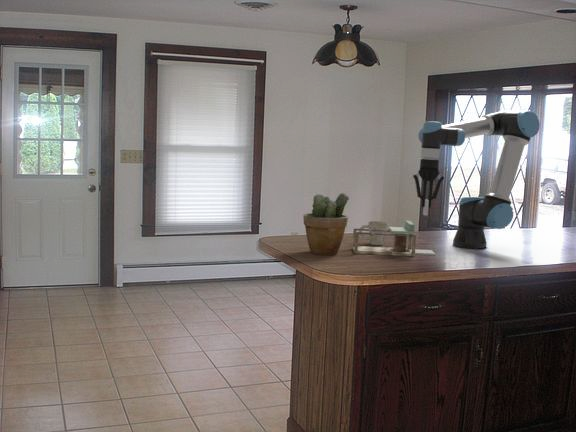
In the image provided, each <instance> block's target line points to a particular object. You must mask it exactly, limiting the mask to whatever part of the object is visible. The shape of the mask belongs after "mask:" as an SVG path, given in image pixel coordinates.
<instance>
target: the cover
mask: <svg viewBox="0 0 576 432" xmlns="http://www.w3.org/2000/svg"><path fill="white" fill-rule="evenodd" d="M404 221H405V222H404V227H403V226H401V227H400V226H399V227H398V226H388V230H390V231H391V232H390V233H391V234H408V235H409V234H412V235H415V227H416V226H415V223H413V222H412V221H411V220H404Z"/></svg>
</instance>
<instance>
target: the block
mask: <svg viewBox="0 0 576 432" xmlns="http://www.w3.org/2000/svg"><path fill="white" fill-rule="evenodd" d="M393 238H394V239H393V240H394V242H393V248H394V251H393V252H406V248H407V243H408V241H407V240H408V239H407V238H408V236H393Z"/></svg>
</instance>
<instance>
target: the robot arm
mask: <svg viewBox="0 0 576 432" xmlns="http://www.w3.org/2000/svg"><path fill="white" fill-rule="evenodd" d="M540 124H541V123H540V119H539V118H538V115H537V114H536V112H534V111H532V110H529V109H528V110H527V109H521V110H520V109H518V110H517V109H516V110H512V109H510V110H507V109H506V110H501V111H498V112H492V113H489V114H485V115H482V116H481V117H480V118H475V119H470V120H468V119H467V120H464V121H459V122H453V123H449V124H443V123H442V122H441V121H427V120H426V121H425V122H423V125H422V128H421V129H420V130H419V132H418V135H417V136H418V140H419V142H420V143H421V151H420V158H421V159H420V163H419V170H418V172H417V173H415V174H413V175H412V177H413V179H414V183H415V190H416V194H417V195H416V196H417V198H419V199H421V208H423V210H422V215H423V216H426V217H427V216H428V214H429V208H431V207H432V200H435V199H436V198H437V195H438V194H439V190H440V187H441V184H442V182H443V180H444V179H445V177H444V176H442V175H441V174H440V171H439V158H440V151H441V146H449V147H452V146H453V147H460V146H462V145H463V144H464V143H465V140H466V139H467V138H468V139H469V138H473V137H478V136H486V137H488V136H489V137H490V136H502V139H503V141H504V143H503V147H502V150H501V153H500V157H499V160H498V163H497V167H496V170H495V173H494V176H493V180H492V184H491V188H490V191H489V192H488V193H486V194H485V195H484V196H468V197H467V196H463V197H462V198H460V200H459V207H458V219H457V220H458V223H457V230H456V232H455V234H454V238H453V240H452V245H453V246H454V247H459V248H464V249H465V248H466V249H472V248H483V249H485V248H484V247H486V248H487V244H488V243H487V239H486V238H487V237H486V235H485V228H489V229H493V230H495V229H496V230H502V229H505V228H506V227H508V226H509V225H510V224H511V222H512V221H513V218H514V211H513V209H514V208H513V207H512V200H511V199H510V195H511V192H512V189H513V185H514V183H515V178H516V175H517V172H518V169H519V166H520V163H521V158H522V155H523V152H524V149H525V146H526V145H528V144H530V142H531V141H530V140H531V138H533V137H535V136H536V135H537V134H538V133H539V130H540V126H541V125H540ZM420 179H421V180H422V187H421V186H420ZM436 179H437V181H436V184H435V187H434V186H433V185H434V181H435V180H436ZM427 184H428V185H427ZM427 187H428V188H427ZM433 187H434V189H433ZM421 188H422V190H421ZM427 189H428V192H427ZM426 197H427V199H426Z"/></svg>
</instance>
